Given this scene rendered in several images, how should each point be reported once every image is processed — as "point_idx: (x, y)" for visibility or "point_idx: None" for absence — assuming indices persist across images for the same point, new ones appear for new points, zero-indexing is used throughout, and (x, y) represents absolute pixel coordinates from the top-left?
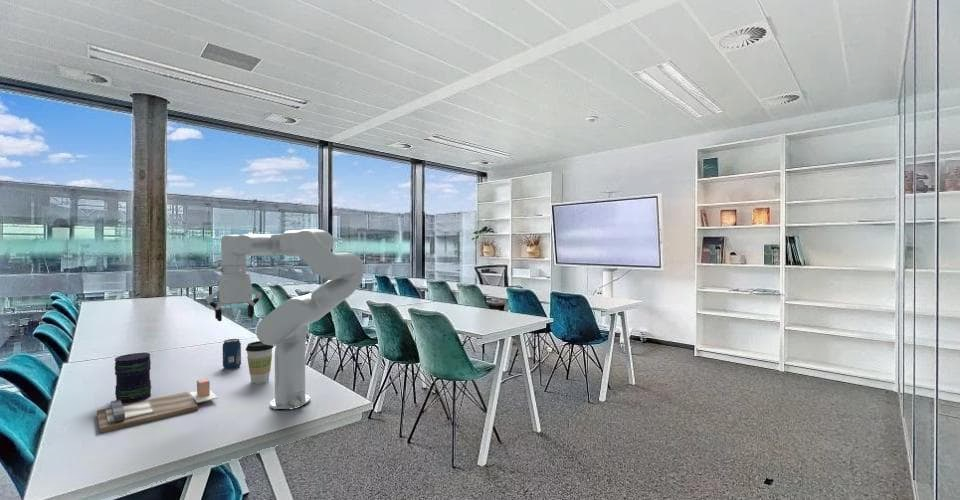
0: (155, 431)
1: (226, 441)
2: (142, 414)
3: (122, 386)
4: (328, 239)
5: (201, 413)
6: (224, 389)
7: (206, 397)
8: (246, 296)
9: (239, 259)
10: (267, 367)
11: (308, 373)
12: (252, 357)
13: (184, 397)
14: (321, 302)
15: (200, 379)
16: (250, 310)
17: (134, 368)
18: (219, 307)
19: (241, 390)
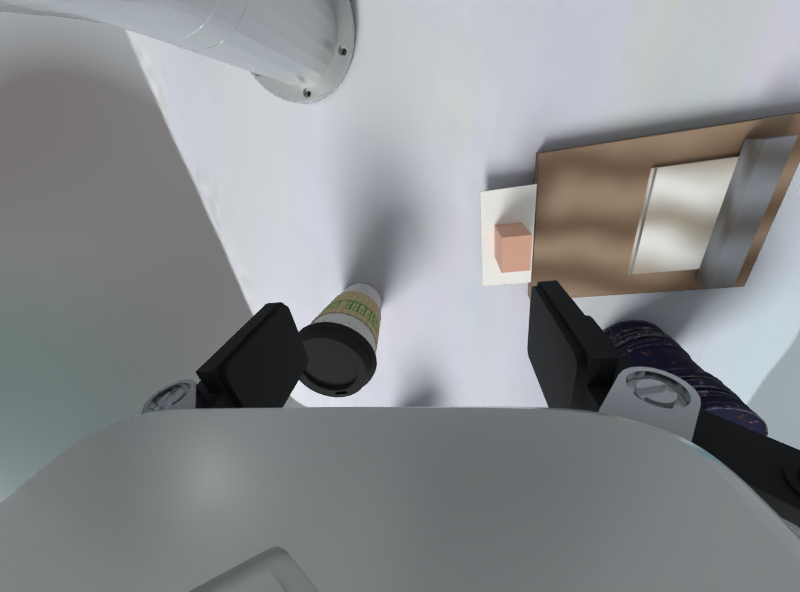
0: (691, 12)
1: None
2: (687, 163)
3: (687, 355)
4: None
5: (535, 116)
6: (444, 290)
7: (506, 209)
8: (70, 518)
9: None
10: (333, 301)
11: (251, 289)
12: (363, 325)
13: (548, 257)
14: None
15: (519, 270)
16: (247, 342)
17: (698, 382)
18: (628, 395)
19: (410, 257)
